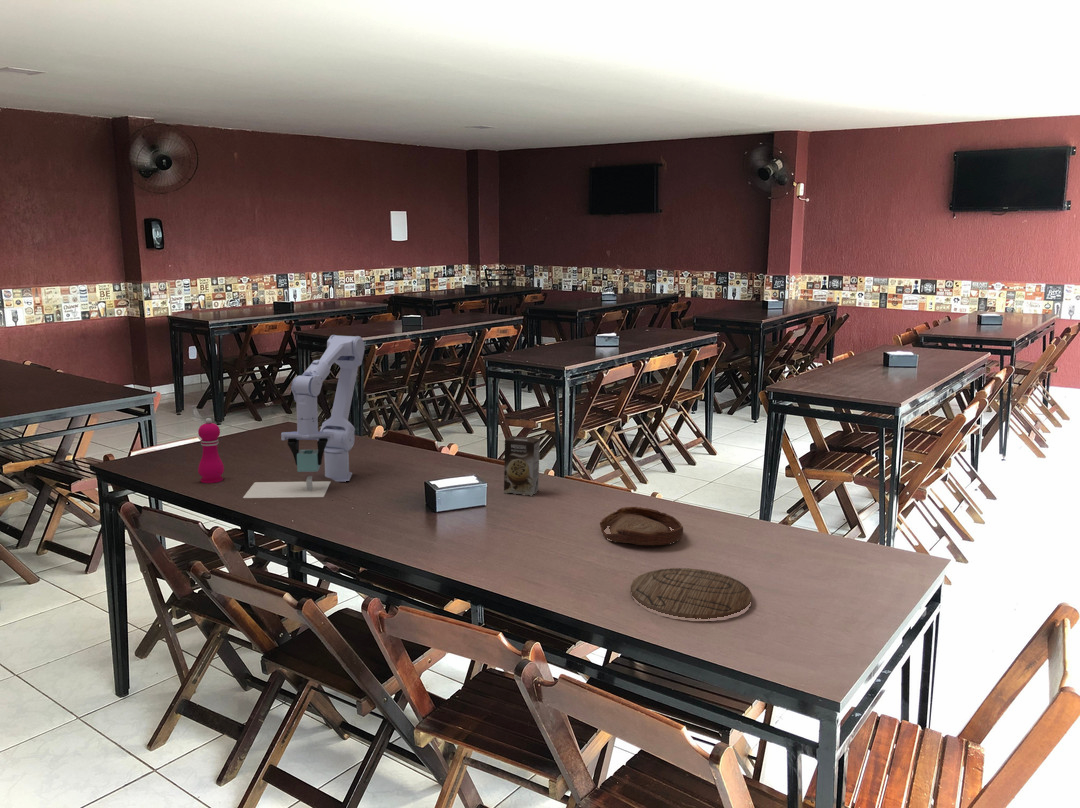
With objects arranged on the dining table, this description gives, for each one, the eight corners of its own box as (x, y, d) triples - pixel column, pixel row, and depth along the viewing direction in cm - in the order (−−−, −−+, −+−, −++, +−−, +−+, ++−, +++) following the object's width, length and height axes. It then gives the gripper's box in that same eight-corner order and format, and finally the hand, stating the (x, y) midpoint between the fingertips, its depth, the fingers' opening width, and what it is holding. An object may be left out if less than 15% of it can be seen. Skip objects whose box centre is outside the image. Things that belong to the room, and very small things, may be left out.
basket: (586, 527, 231) (587, 508, 230) (655, 519, 238) (656, 501, 237) (624, 556, 210) (625, 536, 209) (698, 547, 217) (699, 527, 216)
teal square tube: (300, 466, 257) (299, 449, 256) (320, 466, 258) (319, 449, 257) (297, 471, 252) (296, 454, 251) (317, 471, 252) (317, 454, 251)
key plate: (254, 486, 262) (254, 471, 261) (330, 485, 264) (330, 470, 264) (242, 502, 246) (242, 486, 246) (323, 500, 249) (323, 485, 248)
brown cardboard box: (503, 493, 259) (503, 439, 256) (510, 488, 265) (510, 435, 262) (532, 496, 256) (533, 442, 253) (539, 491, 262) (540, 437, 259)
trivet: (741, 632, 170) (741, 623, 170) (615, 611, 179) (616, 602, 179) (759, 586, 193) (760, 578, 193) (647, 569, 202) (648, 561, 202)
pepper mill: (229, 481, 267) (225, 416, 263) (218, 487, 260) (214, 420, 256) (205, 480, 268) (202, 415, 264) (194, 486, 260) (190, 420, 257)
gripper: (278, 420, 247) (280, 468, 250) (331, 420, 249) (332, 467, 251) (283, 415, 254) (284, 461, 257) (334, 415, 256) (335, 461, 258)
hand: (308, 464), depth 254 cm, fingers closed on teal square tube, 6 cm apart
